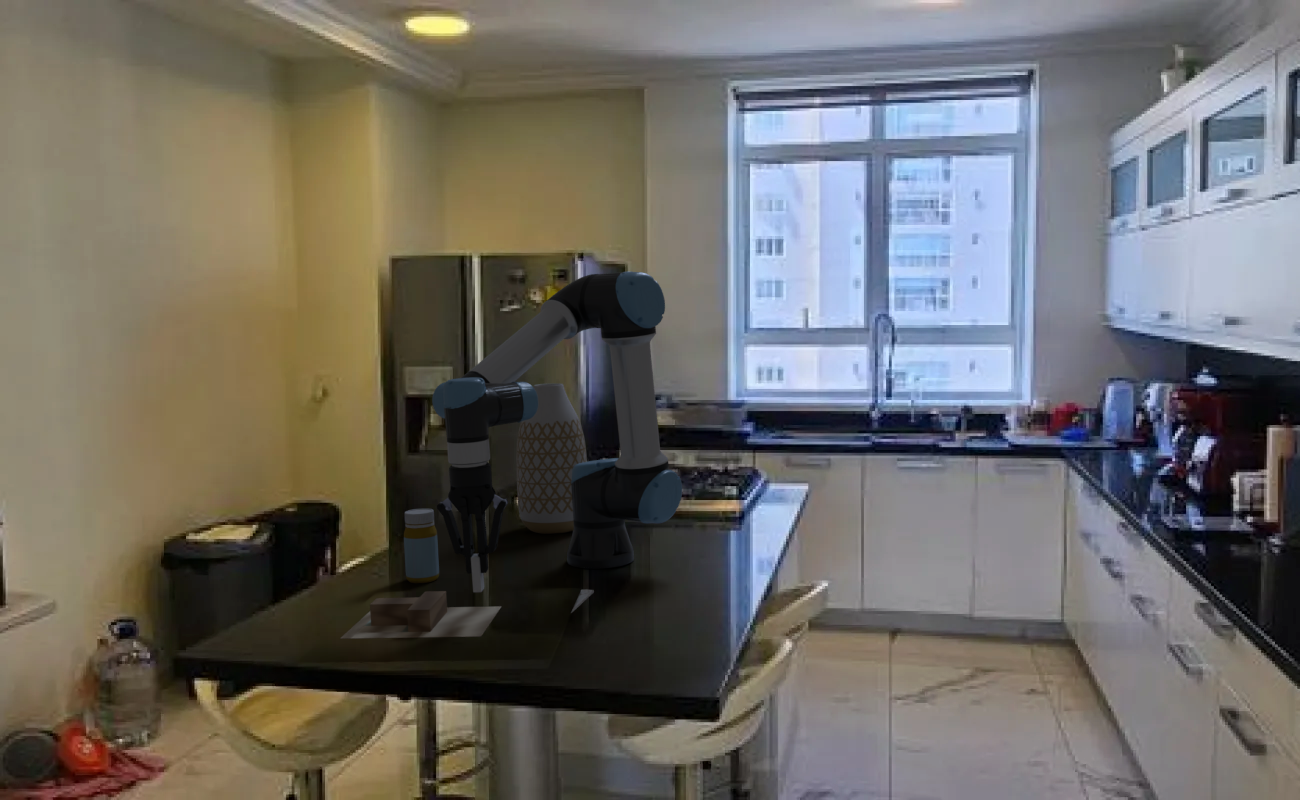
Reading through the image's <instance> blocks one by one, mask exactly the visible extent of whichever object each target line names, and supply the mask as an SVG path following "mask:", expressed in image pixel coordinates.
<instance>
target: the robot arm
mask: <svg viewBox="0 0 1300 800" xmlns="http://www.w3.org/2000/svg"><path fill="white" fill-rule="evenodd" d="M665 301H666V300H665V296H664V292H663V289H662V287H661V286H660V283H658V281H657V280H655V279H654V277H653V276H652V275H650V274H648V273H646V272H642V271H623V272H612V273H611V272H609V273H593V274H592V273H591V274H587V275H585V276H582V277H579V278H578V279H575V280H574V281H571V283H568V284H567V285H565V286H564V287H563V288H561V289H559V290H558V291H557V292H555V293H554V294H553V295H551V296H550V297H549V298H548V299H547V300H546V301H544V302H543V304H542V305H541V307H540V312H538V313H537V314H536V315H535V316H534V317H532V318H531V319H530V320H529V321H528V322H526V323H525V324H524V325H523V326H522V327H521V328H519V329H518V330H517V331H516V332H514V333H513V334H512V335H511V336H510V337H508V338H507V339H506V340H505V341H504V342H502V343H501V344H500V345H498V346H497V347H496V348H495V349H494V350H493V351H492V352H491V353H489V354H488V355H487V356H486V357H484V358H483V359H482V360H480V362H478V363H477V364H476V365H475V366H473V367H472V368H471V369H469V370H468V371H467V372H466V373H465V374H464V375H462V376H461V377H459V378H451V379H448V380H446V381H445V382H442V383H440V384H439V385H438V386H437V387H435V389H434V391H433V393H432V398H431V399H432V400H431V401H432V407H433V409H434V412H435V414H436V415H438V416H439V417H440V418H441V419H444V422H445V423H444V425H445V432H446V434H445V435H446V444H447V445H446V448H447V460H448V462H447V463H448V464H449V465H450V466H449V467H448V472H449V488H450V489H449V492H448V493H447V494H448V495H447V497H446V499H444V500H442V501H440V502H439V503H438V504H437V505H436V508H437V510H438V512H439V514H440V515H441V516H442V517H443V521H444V523H445V526H446V527H445V528H446V529H447V533H448V536H449V538H450V542H451V544H452V548H453V552H454V553H455V554H456V555H462V556H463V557H464V559H465V571H466V573H467V574H469V575H470V574H471V580H472V592H473V593H482V592H483V591H484V589H485V577H484V574H485V573H488V571H489V558H488V555H489V554H492V553H494V552H495V551H496V550H497V548H498V543H499V539H500V532H501V531H500V530H501V527H502V520H503V514H504V510H505V509H506V507H507V506H508V503H509V499H508V498H506V497H505V498H502V497H501V496H499V495H497V494H496V490H495V489H494V486H493V477H492V465H491V464H490V462H489V461H490V459H491V451H490V436H489V435H490V434H489V428H492V427H495V426H496V427H497V426H502V425H508V424H515V423H519V424H521V421H524V420H528V419H530V418H532V417H533V416H534V415H535V414H536V412H537V409H538V395H537V393H536V391H535V389H534V385H532V384H530V383H528V382H527V381H517V380H518V379H519V378H521V377H522V375H523V374H525V373H526V372H527V371H528V370H530V369H531V368H532V367H534V365H535V364H537V363H538V362H539V361H540V360H541V359H542V358H543V357H545V356H546V355H547V354H549V352H551V350H552V349H554V348H555V347H556V346H557V345H559V344H560V343H561V342H562V341H563V340H571V339H573V338H574V337H575V336H576V335H577V334H579V333H580V332H583V331H586V330H590V329H600V337H601V340H602V341H603V342H605V344H607V345H608V346H609V353H610V363H611V370H612V371H611V372H612V373H611V374H612V380H613V392H614V400H615V409H616V420H617V421H616V422H617V431H618V439H619V441H618V442H619V448H620V456H619V457H614V458H613V457H612V458H604V459H598V460H597V459H595V460H589V461H588V460H587V462H583V463H579V464H576V465H575V466H574V467H573V469H572V481H571V487H572V504H573V521H574V529H573V531H572V534H571V537H570V540H569V541H570V542H569V545H568V547H567V553H566V556H567V557H566V560H567V561H566V562H567V564H568V565H570V566H571V567H574V568H581V569H595V570H597V569H611V568H617V567H623V566H626V565H628V564H630V563H633V562H634V561H635V555H634V554H635V552H634V547H633V545H632V542H631V540H630V537H629V534H628V530H627V528H626V522H625V521H626V520H627V521H632V522H638V523H640V522H641V523H643V524H663V523H665V522H667V521H669V520H670V519H671V518H672V517H673V516H674V515H675V513H676V511H677V510H678V508H679V505H680V503H681V501H682V500H681V499H682V497H683V496H682V495H683V482H682V479H681V478H680V476H678V473H676V471H674V470H672V469H670V465H669V457H668V456H667V455H665V454H664V453H662V451H661V446H660V436H659V435H660V434H659V423H658V413H657V403H656V394H655V393H656V392H655V383H654V373H653V372H654V371H653V361H652V354H651V353H652V352H651V341H652V340H653V338H654V337H655V335H656V334H657V329H656V326H659V324H660V323H661V322H662V320H663V318H664V316H663V315H664V314H665V312H666V302H665ZM492 501H493V508H494V509H495V510H494V514H493V518H492V524H491V530H490V534H489V535H490V536H489V542H488V536H487V535H488V534H487V523H486V516H487V515H486V511H487V510H488V508H489V506H490V505H491V503H492ZM453 507H455V509H457V511H458V512H459V513H460V520H461V524H462V537H461V533H460V531H459V528H458V527H459V526H458V525H457V522H456V518H455V515H454V512H453V510H452V509H453ZM473 515H474V519H475V525H476V527H475V528H476V538H477V540H476V541H477V551H478V553H474V552H475V550H476V549H475V548H474V536H473V535H474V533H473V521H472V520H473V519H472V516H473ZM462 538H463V540H462Z"/></svg>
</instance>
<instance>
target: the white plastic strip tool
mask: <svg viewBox="0 0 1300 800" xmlns="http://www.w3.org/2000/svg"><path fill="white" fill-rule="evenodd" d="M579 591H580V592H579V594H578V596H577V599H576V601H575V603H574V605H573V608H572V610H571V612H570V614H572V613H573V612H575V610H577V608H579V607H580V606H581V605H582V604H583V603H584V602H585V601H587V599H588V598H589V597H591V596H592V595H593V594H594V592H595V591H594V589H588V588H586V589H581V590H579Z"/></svg>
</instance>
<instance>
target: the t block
mask: <svg viewBox="0 0 1300 800" xmlns="http://www.w3.org/2000/svg"><path fill="white" fill-rule="evenodd" d="M447 607H448V601H447V591H446V590H440V591H439V590H438V591H436V590H435V591H434V590H431V591H430V590H429V591H424V592H423V593H422V594H421V595H420V596H419V597H380V598H379V597H377V598H375V599H374V600H373V601H372V602H371V603H370V604H369V610H370V611H369V612H370V614H371V626H397V625H408V632H431V631H432V630H433V628H434V627H435V626H436V625H437V624H438V622H439V621H440V620H441V619H442V618H443V616H444V615H445V614H446V613H447Z"/></svg>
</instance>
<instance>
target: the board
mask: <svg viewBox="0 0 1300 800" xmlns="http://www.w3.org/2000/svg"><path fill="white" fill-rule="evenodd" d="M501 608H502V606H501V605H499V606H455V607H454V606H451V607H448V606H447V613H446V614H445V615H444V616H443V618H442V619H441V620H440V621H439V622H438V624H437V625H436V626H435V627H434V628H433V630H432V631H431V632H408V625H397V626H371V614H370V611H369V612H367V613H366V614H365V615H364V616H363V617H362V618H361V619H360V620H359V621H357V622H356V623H355V624H354V625H353V626H352V627H351V628H350V629H348V631H346V632H345V633H344V634H343V635H342V636H341V637H340V640H342V639H343V640H344V639H349V640H350V639H352V640H353V639H401V638H402V639H408V638H409V639H411V638H415V639H416V638H462V637H463V638H464V637H465V638H471V637H472V638H473V637H476V638H477V637H482V636H483V634H484V633H485V632H486V630H487V629H488V628H489V626H490V625H491V623H492V621H493V620H494V619H495V617H496V616H497V614H498V613H499V611H500V609H501Z"/></svg>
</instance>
